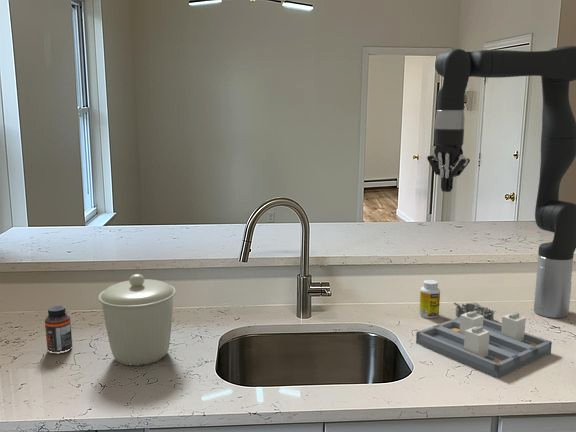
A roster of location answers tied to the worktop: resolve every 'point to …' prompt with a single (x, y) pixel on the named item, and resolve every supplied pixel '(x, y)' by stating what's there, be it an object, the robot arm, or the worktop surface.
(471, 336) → the tab
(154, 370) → the worktop surface
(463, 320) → the white tall block
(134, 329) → the canister
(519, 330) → the white upright block
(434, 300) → the supplement bottle
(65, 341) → the supplement bottle
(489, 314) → the grey jagged lump
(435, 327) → the switch board
